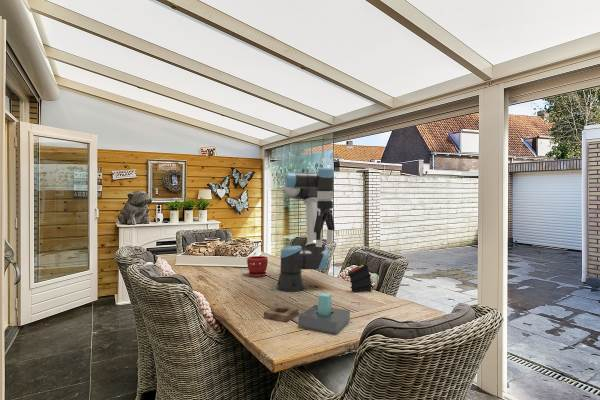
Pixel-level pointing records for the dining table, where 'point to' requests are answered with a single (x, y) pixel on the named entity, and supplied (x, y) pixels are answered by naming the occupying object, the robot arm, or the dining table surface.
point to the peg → (324, 304)
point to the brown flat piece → (281, 313)
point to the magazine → (360, 278)
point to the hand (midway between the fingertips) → (324, 245)
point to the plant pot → (257, 266)
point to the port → (324, 320)
